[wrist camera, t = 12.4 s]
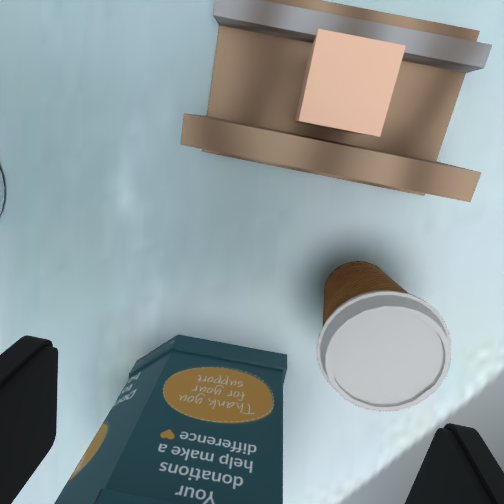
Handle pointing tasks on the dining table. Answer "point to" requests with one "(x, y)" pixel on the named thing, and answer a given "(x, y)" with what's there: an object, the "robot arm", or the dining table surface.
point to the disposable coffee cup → (380, 340)
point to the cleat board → (324, 139)
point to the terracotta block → (348, 83)
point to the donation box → (190, 430)
